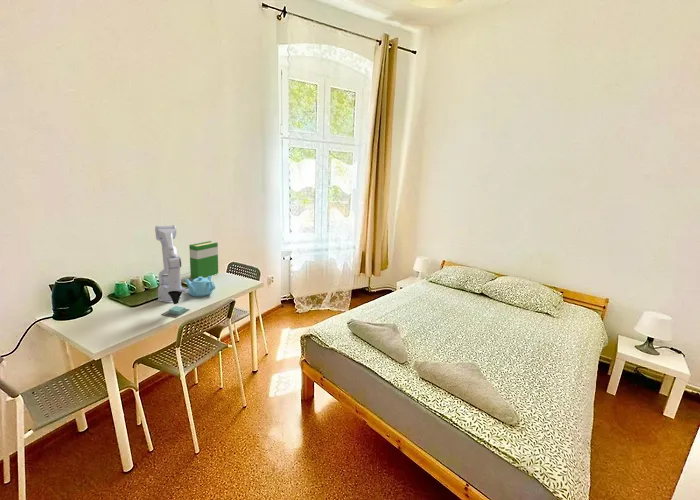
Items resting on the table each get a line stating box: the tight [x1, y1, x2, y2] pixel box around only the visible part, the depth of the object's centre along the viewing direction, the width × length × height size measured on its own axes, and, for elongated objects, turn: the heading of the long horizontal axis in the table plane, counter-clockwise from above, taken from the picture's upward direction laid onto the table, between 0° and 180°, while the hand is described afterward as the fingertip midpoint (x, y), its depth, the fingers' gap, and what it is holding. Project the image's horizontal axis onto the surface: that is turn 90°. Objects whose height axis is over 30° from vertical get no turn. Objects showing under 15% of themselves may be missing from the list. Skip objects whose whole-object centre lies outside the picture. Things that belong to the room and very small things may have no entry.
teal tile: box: [168, 305, 186, 315], centre depth 168 cm, size 2×5×6 cm
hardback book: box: [188, 240, 219, 280], centre depth 225 cm, size 18×7×24 cm, turn 155°
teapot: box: [184, 276, 216, 298], centre depth 195 cm, size 15×15×11 cm
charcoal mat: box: [160, 308, 190, 318], centre depth 169 cm, size 9×10×1 cm
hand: (176, 303), depth 168 cm, fingers closed
